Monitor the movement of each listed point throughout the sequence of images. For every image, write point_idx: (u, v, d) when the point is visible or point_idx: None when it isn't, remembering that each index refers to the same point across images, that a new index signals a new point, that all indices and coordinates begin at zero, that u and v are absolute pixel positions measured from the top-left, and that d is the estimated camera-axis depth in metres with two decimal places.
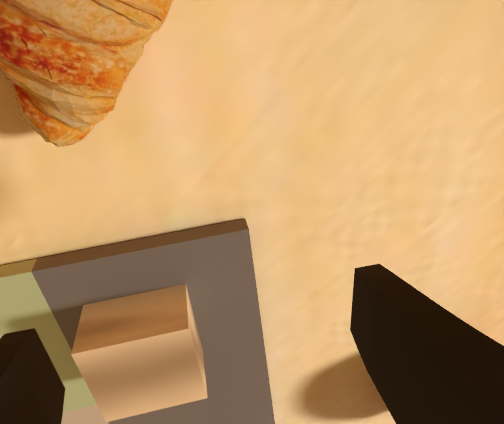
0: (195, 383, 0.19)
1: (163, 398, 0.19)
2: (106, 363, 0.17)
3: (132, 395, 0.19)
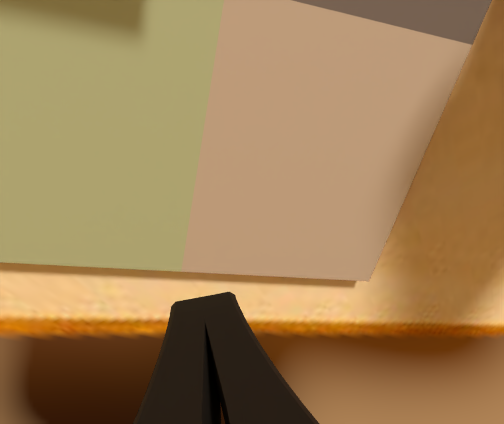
0: None
1: None
2: None
3: None
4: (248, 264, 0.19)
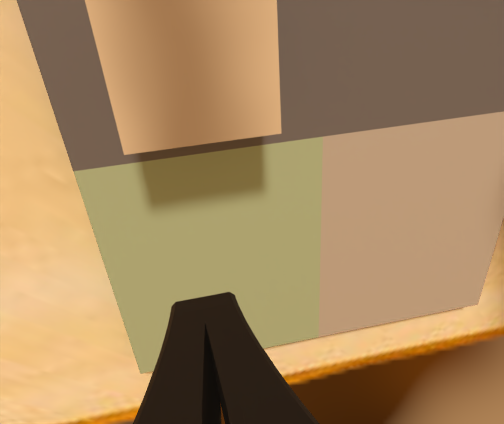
0: None
1: (252, 37, 0.11)
2: (149, 112, 0.12)
3: (230, 86, 0.12)
4: (371, 318, 0.23)
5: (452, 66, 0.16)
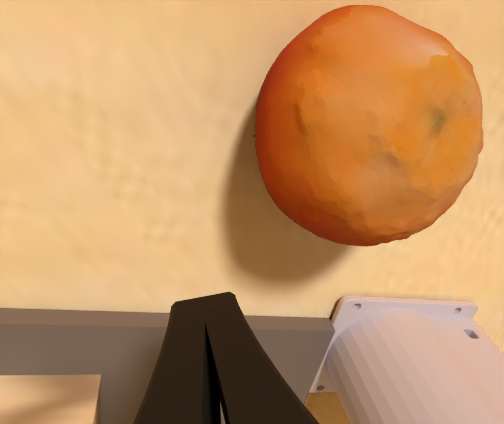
0: None
1: None
2: None
3: None
4: None
5: None
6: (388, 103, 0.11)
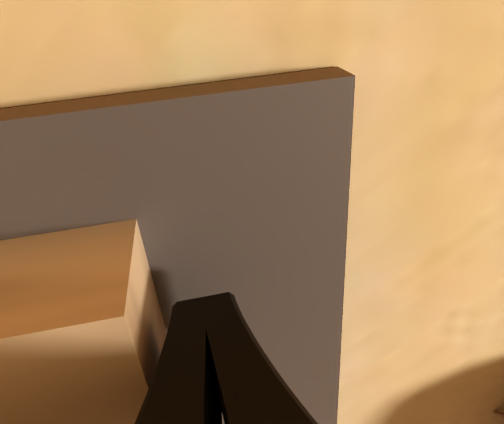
0: None
1: None
2: None
3: None
4: None
5: None
6: None
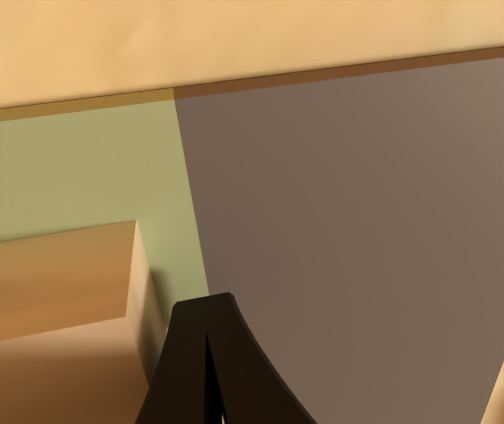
0: None
1: None
2: None
3: None
4: None
5: None
6: None
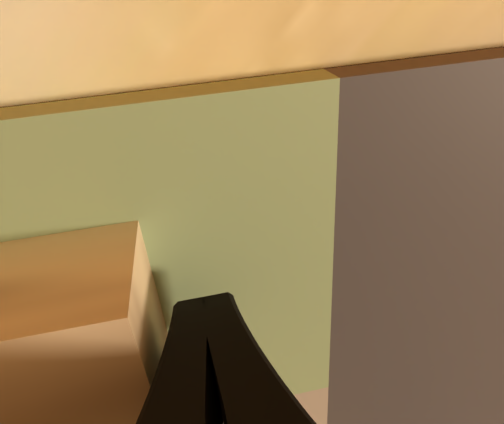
0: None
1: None
2: None
3: None
4: None
5: None
6: None
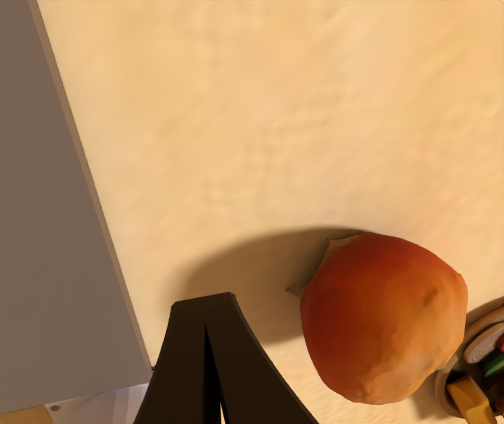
0: None
1: None
2: None
3: None
4: None
5: None
6: (452, 340, 0.17)
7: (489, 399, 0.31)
